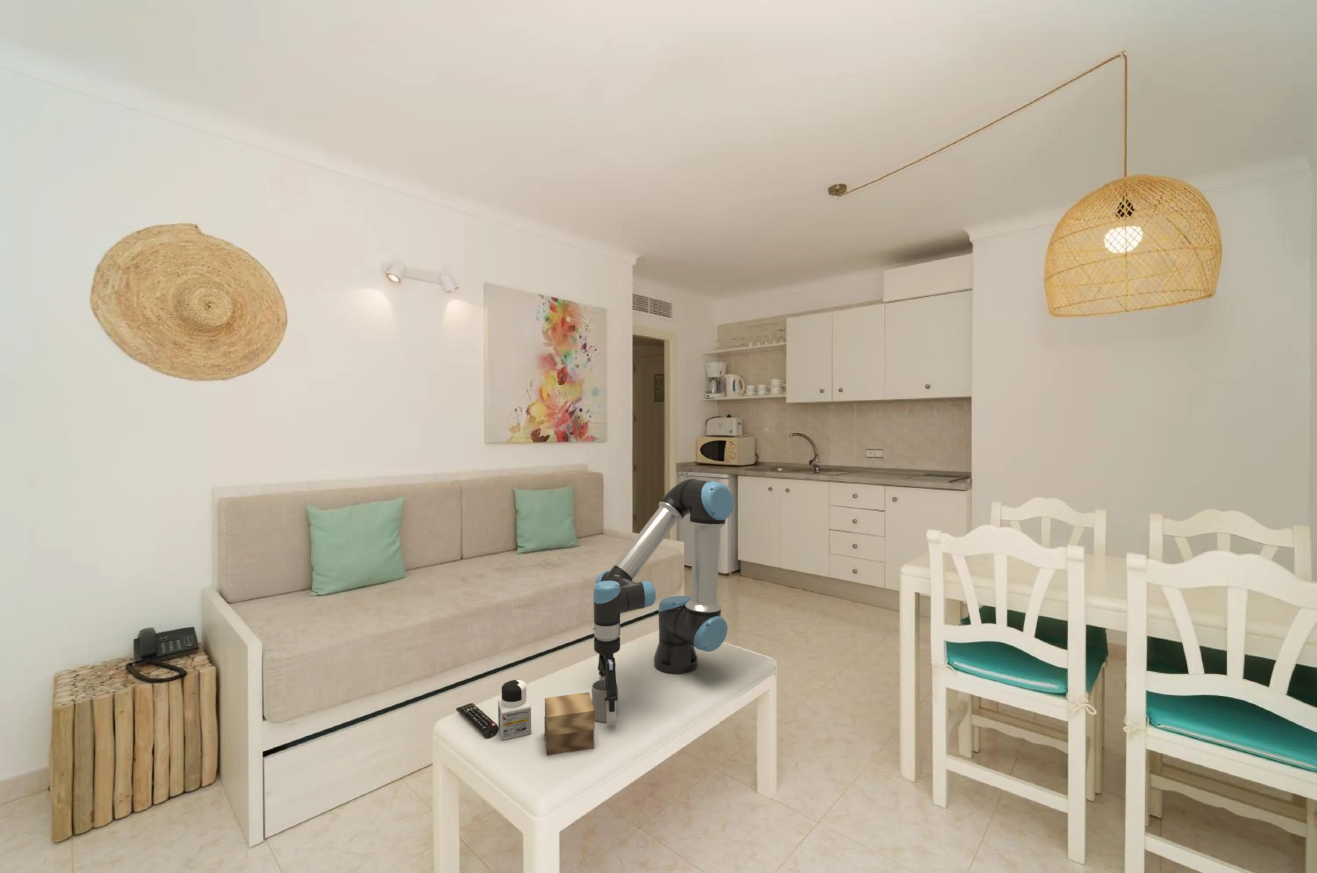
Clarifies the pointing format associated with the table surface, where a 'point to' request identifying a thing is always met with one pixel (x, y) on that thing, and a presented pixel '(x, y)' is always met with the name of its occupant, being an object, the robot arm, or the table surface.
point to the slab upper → (569, 714)
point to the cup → (600, 700)
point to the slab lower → (569, 742)
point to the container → (514, 710)
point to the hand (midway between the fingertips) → (607, 709)
